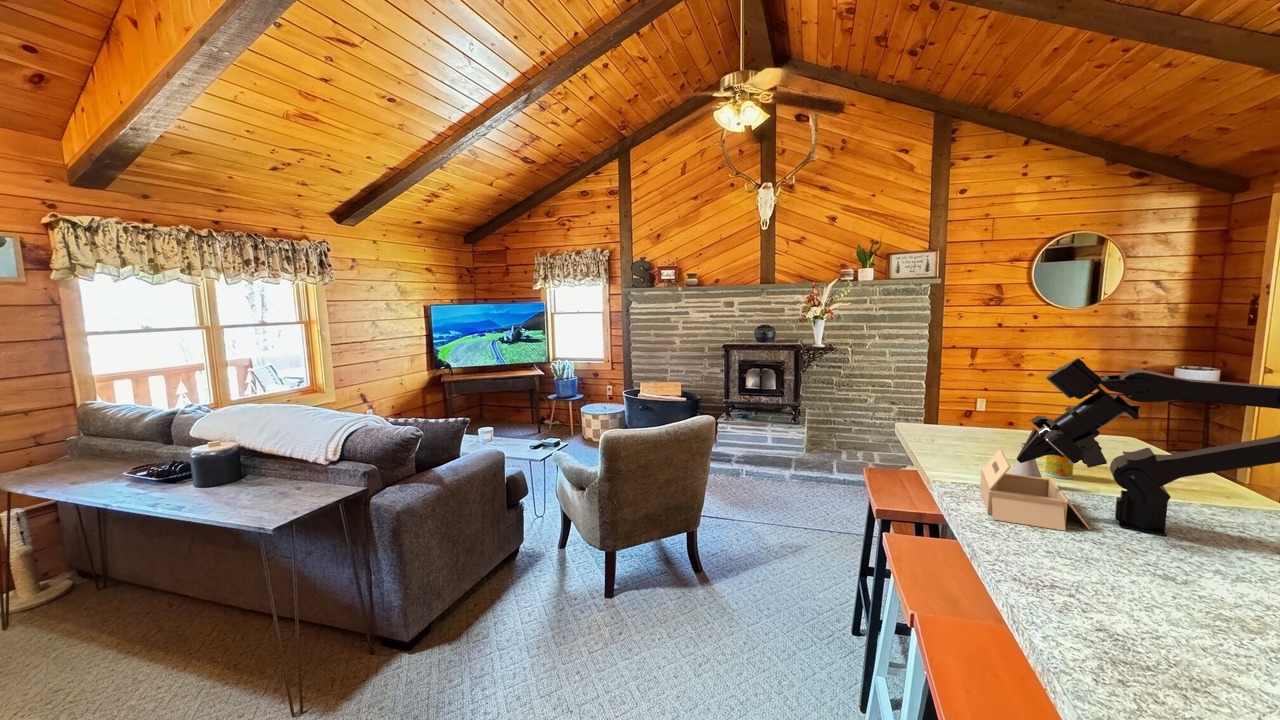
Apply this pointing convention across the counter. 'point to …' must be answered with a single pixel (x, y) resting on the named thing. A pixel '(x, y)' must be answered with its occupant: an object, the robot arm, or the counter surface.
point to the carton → (1027, 501)
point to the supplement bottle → (1059, 467)
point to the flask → (1026, 467)
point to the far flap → (996, 468)
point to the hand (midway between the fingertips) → (1018, 461)
